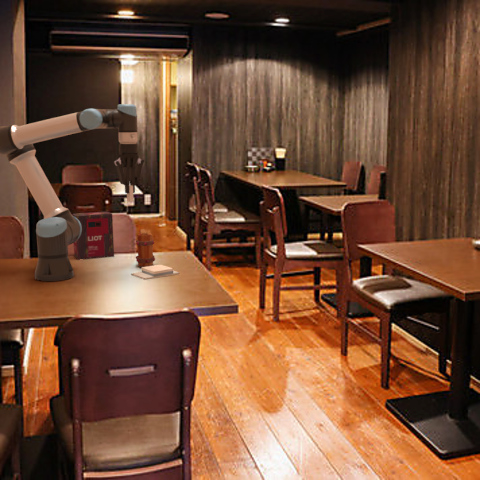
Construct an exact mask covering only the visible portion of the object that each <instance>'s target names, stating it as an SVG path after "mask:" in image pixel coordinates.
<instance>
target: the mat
mask: <svg viewBox="0 0 480 480" xmlns="http://www.w3.org/2000/svg"><path fill="white" fill-rule="evenodd" d="M179 274H180V272H179V271H175V270H173V273H172V274H166V275H161V276H155V277H154V276H151V275H148V274H145V273H142V271H138V272H137V271H135V272H131V274H130V275H131V276H134V277H136V278H139V279H142V280H144V281H145V280H151V279H158V278H162V277H168V276H173V275H179Z"/></svg>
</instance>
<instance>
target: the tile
mask: <svg viewBox="0 0 480 480" xmlns="http://www.w3.org/2000/svg"><path fill="white" fill-rule="evenodd" d="M140 269H141V272H142V273H145V274H148V275H151V276H154V277H155V276H161V275H166V274H172V273H173V271H174V268H172V267H170V266H167V265H164V264H154V265H152V266H148V267H141V268H140Z"/></svg>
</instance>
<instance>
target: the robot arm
mask: <svg viewBox="0 0 480 480" xmlns="http://www.w3.org/2000/svg"><path fill="white" fill-rule="evenodd" d="M96 129H118V142H119V144H118V152H119V155H118V159H116V160H114V161H113V164H114V165H115V169H116V171H117V176H118V180H119V184H121V185H123V186H124V193H125V194H126V201H127V202H130V203H133V202H134V194H135V193H136V185H137V184H140V181H141V180H140V179H141V173H142V168H143V165H144V163H145V160H143V159H141V158H140V157H139V154H138V152H139V145H138V141H139V140H138V139H139V138H138V112H137V105H135V104H133V103H132V104H131V103H130V104H128V103H121V104H117V108H115V109H109V108H107V109H105V108H104V109H101V108H92V107H91V108H86V109H84V110H81V111H77V112H74V113H69V114H65V115H61V116H57V117H56V116H55V117H51V118H48V119H43V120H39V121H35V122H31V123H28V124H23V125H17V124H12V125H4V126H3V125H2V126H0V156H5V157H6V159H7V161H8V162H9V164H11V165H13V166H15V167H16V168H17V170H18V172H19V173H20V176H21V178H22V179H23V181H24V183H25V184H26V187H27V188H28V190H29V191H30V194H31V195H32V197H33V199H34V201H35V202H36V205H37V206H38V208H39V210H40V211H41V213H42V215H43V219H40V220H38V222H37V223H36V225H35V226H36V229H35V233H36V244H37V257H38V258H37V263H36V267H35V271H34V279H35V280H36V279H37V280H36V281H39V280H41V282H57V281H65V280H69V279H71V278H74V276H75V273H74V269H73V265H72V263H71V261H70V259H69V245H72V244H74V242H76V240H78V238H79V237H80V235H81V232H82V226H81V223H80V221H79V220H78V219H77V218H76V217H74V216H72V213H71V211H70V209H69V208H66V207H65V206H63V204H62V202H61V201H60V199H59V197H58V196H57V194H56V191H55V189H54V188H53V186H52V184H51V183H50V181H49V179H48V177H47V176H46V174H45V172H44V170H43V168H42V167H41V164H40V163H39V161H38V159H37V157H36V156H35V155H36V152H37V150H36V148H35V146H34V144H36V143H40V142H44V141H49V140H52V139H58V138H61V137H66V136H68V135H69V136H71V135H72V134H78V133H82V132H86V131H90V130H96Z"/></svg>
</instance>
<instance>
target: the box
mask: <svg viewBox="0 0 480 480" xmlns="http://www.w3.org/2000/svg"><path fill="white" fill-rule="evenodd" d="M71 215H72V216H74V217H76V218H77V219H78V220H79V221H80V223H81V226H82V232H81V235H80V237H79V238H78V240H76V242H74V243H73V256H74V258H75V257H76V258H77V259H76V258H75V259H76V260H77V261H79V260H80V259H83V260H90V259H91V260H92V259H102V258H104V259H105V258H114V257H115V251H114V250H115V248H114V244H115V243H114V226H113V224H114V223H113V220H114V219H113V213H111V212H110V211H97V212H96V211H95V212H94V211H93V212H79V213H78V212H77V213H71ZM80 261H81V260H80Z"/></svg>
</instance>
